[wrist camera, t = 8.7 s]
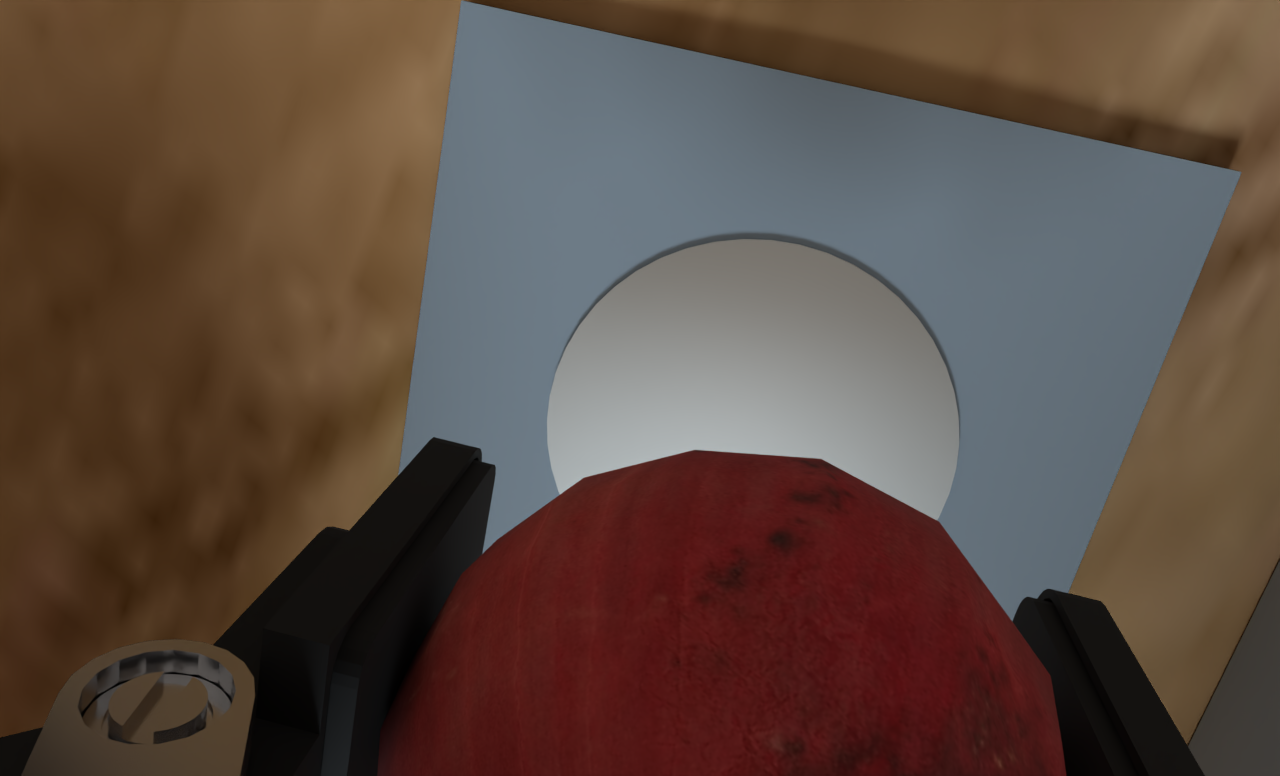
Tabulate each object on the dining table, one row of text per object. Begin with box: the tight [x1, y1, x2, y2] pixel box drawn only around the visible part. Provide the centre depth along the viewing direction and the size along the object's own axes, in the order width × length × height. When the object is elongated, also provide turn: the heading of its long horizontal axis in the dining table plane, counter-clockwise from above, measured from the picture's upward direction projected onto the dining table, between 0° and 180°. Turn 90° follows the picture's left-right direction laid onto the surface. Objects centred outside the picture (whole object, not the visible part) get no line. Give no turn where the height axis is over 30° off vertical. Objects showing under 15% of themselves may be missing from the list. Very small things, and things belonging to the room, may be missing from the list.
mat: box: [398, 0, 1241, 621], centre depth 17 cm, size 12×12×1 cm
